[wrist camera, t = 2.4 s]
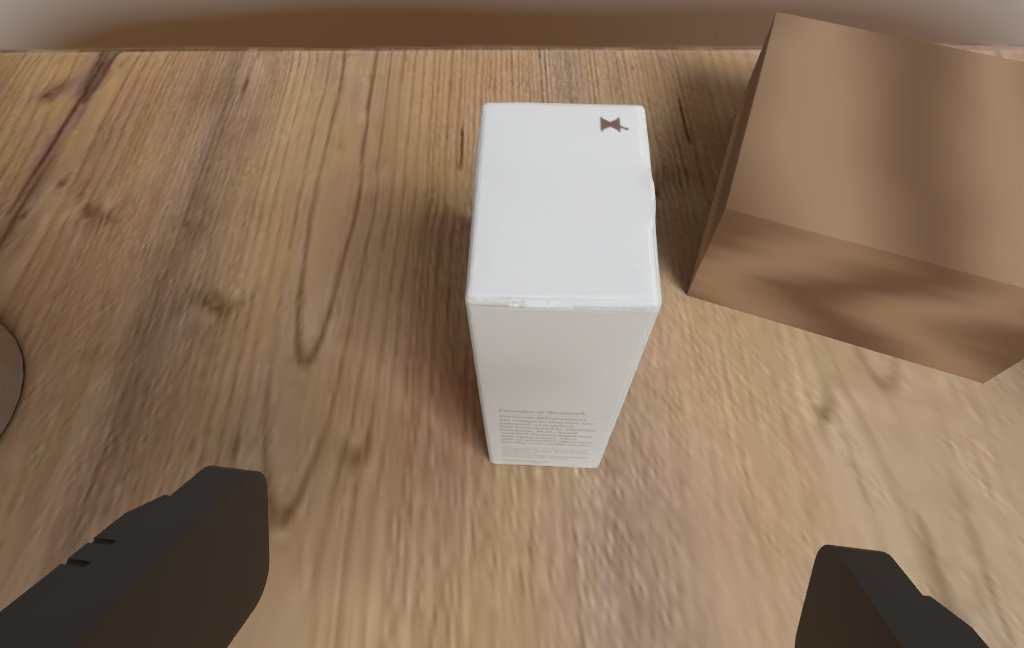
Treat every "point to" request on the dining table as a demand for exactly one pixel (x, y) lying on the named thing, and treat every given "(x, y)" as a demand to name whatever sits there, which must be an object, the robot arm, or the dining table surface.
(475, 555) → the dining table surface
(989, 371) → the walnut block
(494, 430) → the skincare box
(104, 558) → the robot arm
